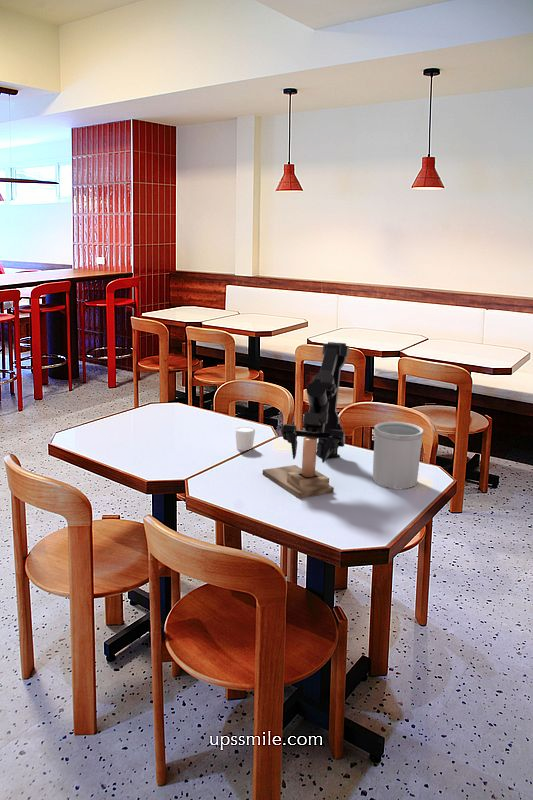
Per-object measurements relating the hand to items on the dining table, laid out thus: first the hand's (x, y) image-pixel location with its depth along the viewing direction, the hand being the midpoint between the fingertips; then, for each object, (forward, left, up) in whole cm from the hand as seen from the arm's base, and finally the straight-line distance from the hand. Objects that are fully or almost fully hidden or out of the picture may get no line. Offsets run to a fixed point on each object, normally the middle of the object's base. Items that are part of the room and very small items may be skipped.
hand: (308, 460), depth 199 cm
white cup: (-2, -44, -10) cm, 45 cm away
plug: (-1, -1, -5) cm, 5 cm away
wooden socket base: (-1, -7, -10) cm, 12 cm away
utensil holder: (-30, +4, -10) cm, 32 cm away
